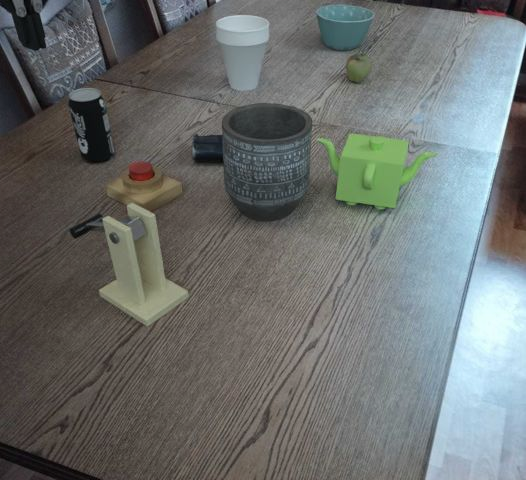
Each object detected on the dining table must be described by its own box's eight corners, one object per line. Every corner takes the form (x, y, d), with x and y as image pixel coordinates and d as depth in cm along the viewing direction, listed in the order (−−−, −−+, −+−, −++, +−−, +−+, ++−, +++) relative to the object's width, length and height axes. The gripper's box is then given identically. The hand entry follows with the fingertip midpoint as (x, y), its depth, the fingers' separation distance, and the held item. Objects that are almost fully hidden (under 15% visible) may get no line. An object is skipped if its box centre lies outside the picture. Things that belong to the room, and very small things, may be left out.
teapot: (425, 205, 96) (440, 146, 88) (367, 228, 91) (376, 168, 83) (368, 169, 105) (376, 113, 97) (312, 188, 100) (316, 131, 92)
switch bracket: (100, 296, 79) (78, 215, 69) (142, 270, 83) (126, 190, 74) (147, 327, 74) (130, 245, 65) (189, 297, 79) (179, 216, 69)
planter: (209, 213, 94) (202, 127, 83) (253, 177, 103) (252, 95, 92) (280, 238, 89) (283, 150, 78) (321, 199, 97) (328, 114, 87)
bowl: (372, 38, 159) (377, 6, 153) (367, 57, 148) (371, 22, 142) (319, 34, 161) (321, 2, 155) (309, 52, 150) (311, 18, 145)
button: (125, 177, 95) (123, 167, 94) (143, 168, 98) (141, 159, 96) (141, 184, 94) (139, 175, 92) (158, 175, 96) (157, 166, 95)
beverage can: (74, 158, 108) (58, 95, 99) (99, 145, 111) (85, 84, 103) (98, 167, 105) (83, 103, 97) (122, 154, 109) (110, 92, 100)
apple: (367, 74, 139) (371, 48, 135) (369, 86, 134) (373, 60, 130) (343, 73, 140) (346, 48, 136) (344, 85, 134) (347, 59, 130)
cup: (252, 99, 128) (252, 34, 118) (208, 89, 132) (204, 25, 123) (277, 82, 136) (279, 19, 126) (235, 72, 140) (233, 11, 130)
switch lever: (74, 241, 78) (66, 225, 76) (102, 226, 80) (95, 210, 79) (125, 246, 69) (118, 228, 68) (155, 229, 71) (148, 211, 70)
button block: (107, 195, 98) (102, 175, 95) (145, 176, 103) (141, 156, 100) (145, 215, 94) (141, 194, 91) (182, 194, 98) (180, 173, 96)
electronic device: (194, 175, 106) (271, 163, 105) (188, 146, 103) (267, 134, 101) (198, 158, 113) (270, 147, 112) (192, 131, 110) (266, 119, 109)
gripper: (24, -146, 65) (64, 28, 78) (-102, -136, 57) (-34, 56, 70) (63, -142, 61) (98, 39, 75) (-65, -131, 53) (-1, 70, 67)
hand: (34, 47), depth 72 cm, fingers closed
